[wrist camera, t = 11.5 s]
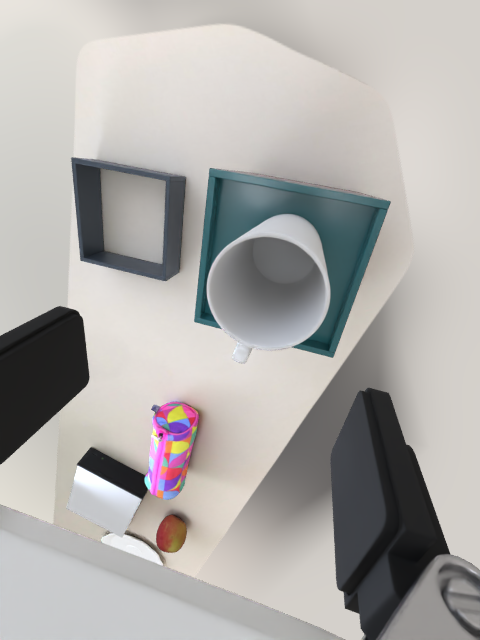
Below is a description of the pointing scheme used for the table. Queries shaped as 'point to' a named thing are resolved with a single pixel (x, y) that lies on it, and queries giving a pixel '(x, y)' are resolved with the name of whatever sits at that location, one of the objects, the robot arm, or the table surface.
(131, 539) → the plate
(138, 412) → the table surface
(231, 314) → the mug
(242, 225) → the tray
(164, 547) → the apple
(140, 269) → the dark gray square frame
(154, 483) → the pencil case
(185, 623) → the robot arm
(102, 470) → the disc drive
